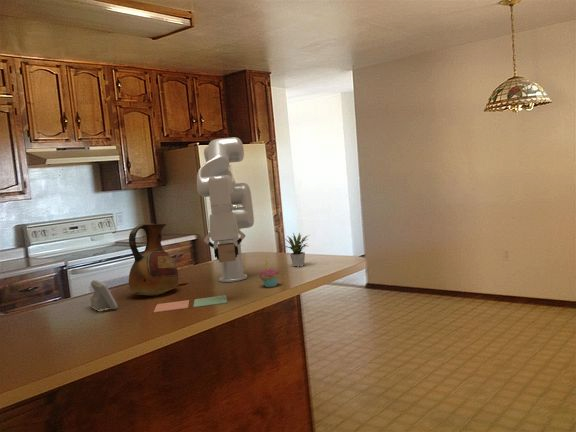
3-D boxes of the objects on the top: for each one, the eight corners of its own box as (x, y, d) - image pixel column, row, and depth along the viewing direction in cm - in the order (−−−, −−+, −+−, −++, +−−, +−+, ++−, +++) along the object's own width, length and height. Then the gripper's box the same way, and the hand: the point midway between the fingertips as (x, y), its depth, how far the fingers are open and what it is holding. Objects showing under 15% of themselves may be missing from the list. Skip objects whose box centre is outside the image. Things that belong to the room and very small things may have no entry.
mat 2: (194, 300, 197) (194, 299, 197) (226, 295, 199) (226, 295, 199) (193, 307, 186) (193, 306, 186) (227, 303, 187) (227, 302, 187)
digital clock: (118, 310, 194) (115, 282, 193) (93, 315, 190) (89, 286, 189) (115, 302, 209) (111, 276, 208) (91, 306, 205) (87, 280, 204)
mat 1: (157, 305, 196) (157, 304, 196) (189, 300, 197) (189, 300, 197) (153, 312, 184) (153, 312, 184) (187, 308, 185) (187, 307, 185)
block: (218, 260, 195) (217, 244, 194) (234, 258, 196) (233, 242, 195) (219, 262, 189) (217, 246, 188) (235, 260, 190) (234, 244, 189)
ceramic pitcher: (189, 290, 217) (180, 219, 215) (147, 301, 203) (137, 225, 201) (162, 286, 231) (154, 219, 229) (121, 297, 216) (112, 226, 214)
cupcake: (278, 287, 204) (275, 257, 203) (257, 288, 206) (254, 259, 205) (282, 282, 213) (280, 254, 212) (262, 284, 214) (259, 255, 214)
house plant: (315, 267, 239) (311, 232, 238) (285, 270, 239) (281, 235, 238) (313, 262, 253) (310, 229, 252) (285, 265, 254) (282, 232, 252)
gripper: (244, 206, 196) (249, 253, 197) (197, 211, 193) (203, 259, 194) (245, 207, 189) (251, 256, 190) (197, 212, 186) (203, 262, 187)
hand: (226, 257), depth 192 cm, fingers closed on block, 6 cm apart
